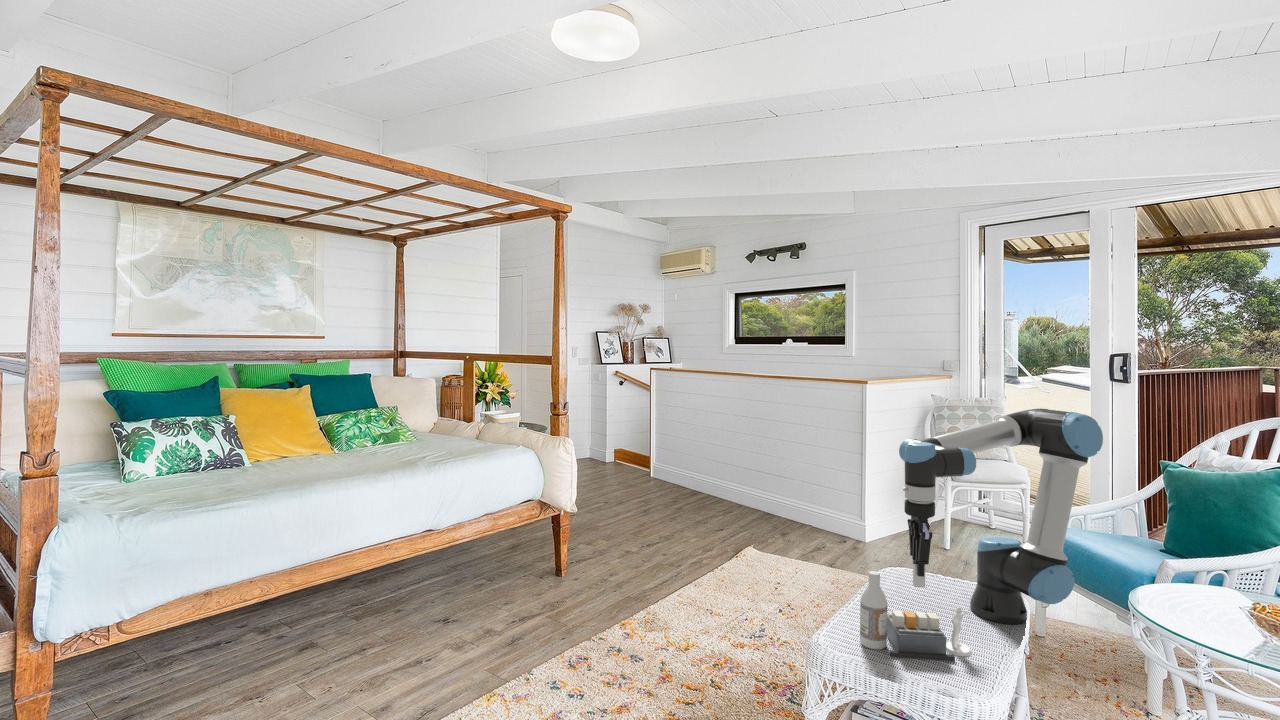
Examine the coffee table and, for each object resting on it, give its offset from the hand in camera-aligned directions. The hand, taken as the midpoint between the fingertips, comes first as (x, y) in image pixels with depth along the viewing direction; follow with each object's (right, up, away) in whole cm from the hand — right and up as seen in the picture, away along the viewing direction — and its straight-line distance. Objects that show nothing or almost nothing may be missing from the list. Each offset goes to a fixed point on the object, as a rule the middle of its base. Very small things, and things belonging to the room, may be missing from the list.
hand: (919, 586), depth 165 cm
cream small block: (-5, -11, +3) cm, 13 cm away
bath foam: (-11, -18, +4) cm, 21 cm away
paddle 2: (-2, -11, +2) cm, 12 cm away
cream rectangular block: (+4, -12, +1) cm, 12 cm away
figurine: (+11, -18, +1) cm, 21 cm away
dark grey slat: (-1, -18, -4) cm, 18 cm away
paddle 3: (+1, -12, +2) cm, 12 cm away
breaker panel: (0, -17, +2) cm, 18 cm away
